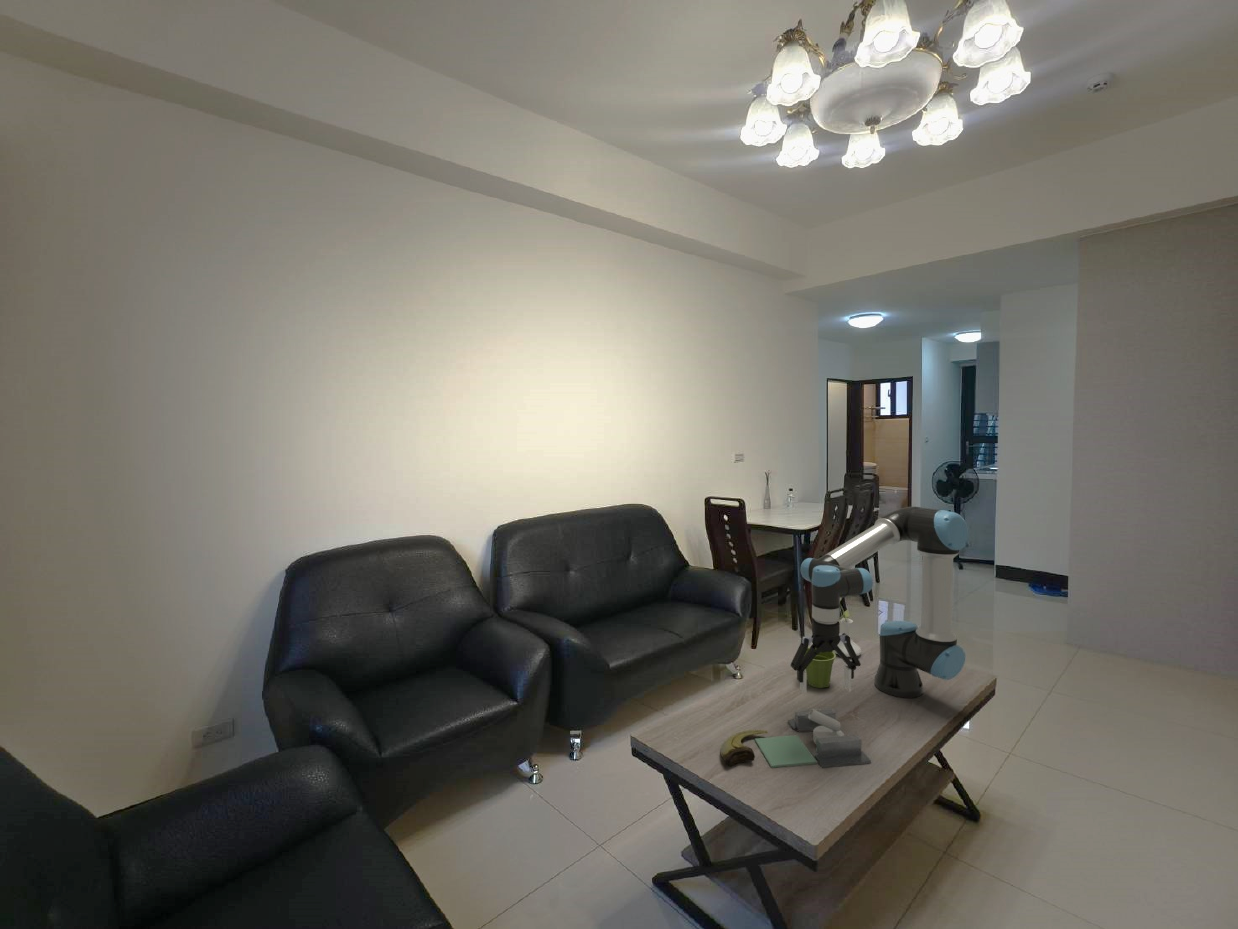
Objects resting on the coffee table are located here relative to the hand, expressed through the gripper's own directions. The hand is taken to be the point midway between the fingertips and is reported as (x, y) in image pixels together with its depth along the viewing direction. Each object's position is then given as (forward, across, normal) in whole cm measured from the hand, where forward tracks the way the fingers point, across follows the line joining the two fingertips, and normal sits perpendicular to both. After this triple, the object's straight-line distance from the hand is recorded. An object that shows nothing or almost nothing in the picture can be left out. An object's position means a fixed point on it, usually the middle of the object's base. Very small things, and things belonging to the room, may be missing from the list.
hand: (825, 690), depth 157 cm
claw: (+16, +25, 0) cm, 29 cm away
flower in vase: (+15, -36, -56) cm, 69 cm away
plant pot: (+15, -14, -34) cm, 40 cm away
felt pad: (+16, +14, +3) cm, 21 cm away
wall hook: (+16, 0, 0) cm, 16 cm away
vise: (+16, 0, 0) cm, 16 cm away
